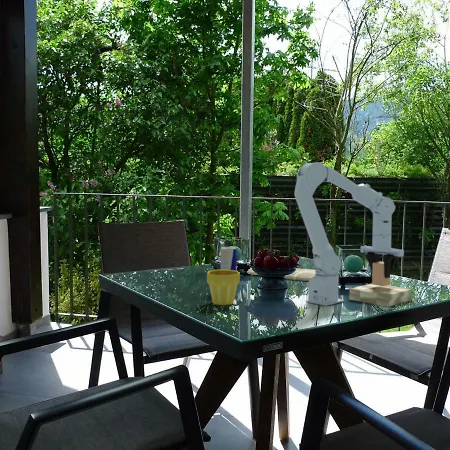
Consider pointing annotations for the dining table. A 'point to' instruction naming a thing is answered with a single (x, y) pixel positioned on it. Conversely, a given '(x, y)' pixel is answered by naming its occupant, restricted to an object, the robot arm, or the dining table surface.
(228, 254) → the beverage can
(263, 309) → the dining table surface
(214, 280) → the plant pot
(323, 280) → the robot arm
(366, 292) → the socket block
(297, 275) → the newspaper
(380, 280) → the peg
